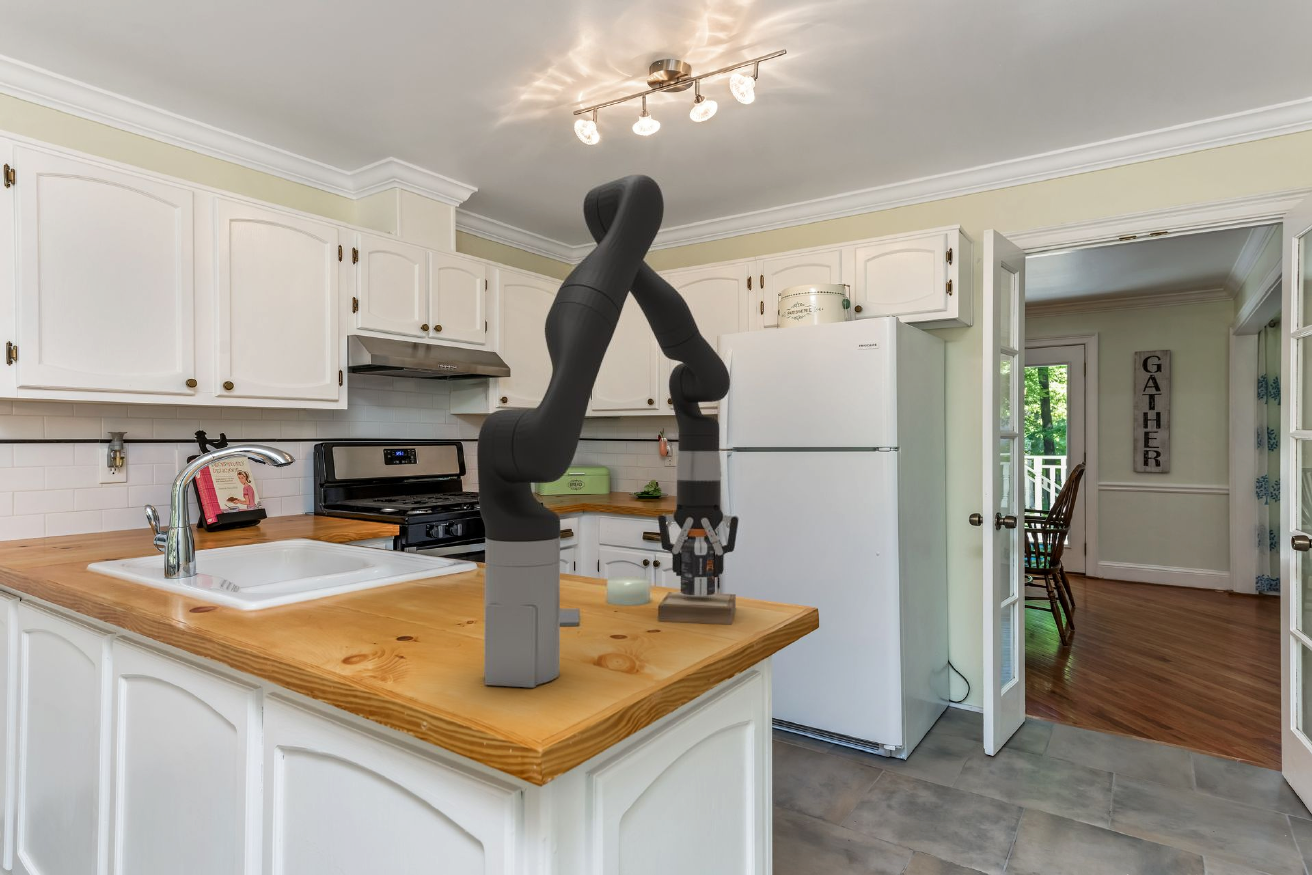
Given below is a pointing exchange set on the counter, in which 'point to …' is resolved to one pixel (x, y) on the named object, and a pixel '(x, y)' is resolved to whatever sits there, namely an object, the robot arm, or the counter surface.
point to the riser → (697, 608)
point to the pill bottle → (697, 564)
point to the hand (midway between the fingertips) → (698, 575)
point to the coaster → (569, 617)
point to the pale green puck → (628, 591)
